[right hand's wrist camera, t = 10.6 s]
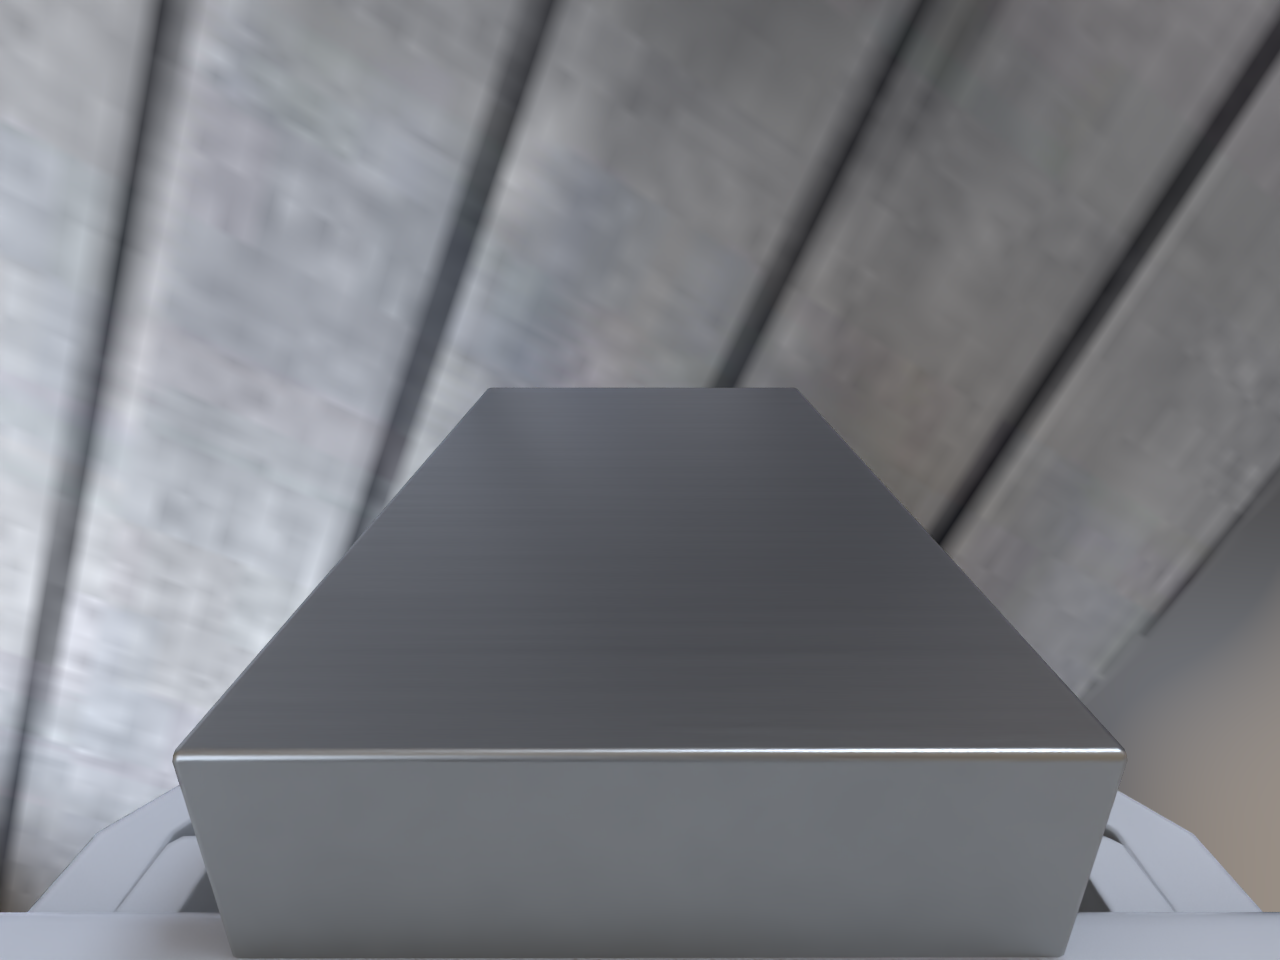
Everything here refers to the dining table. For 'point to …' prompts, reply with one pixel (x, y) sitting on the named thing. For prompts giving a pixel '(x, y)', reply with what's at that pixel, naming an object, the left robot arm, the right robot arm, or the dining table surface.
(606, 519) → the box
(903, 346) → the dining table surface
